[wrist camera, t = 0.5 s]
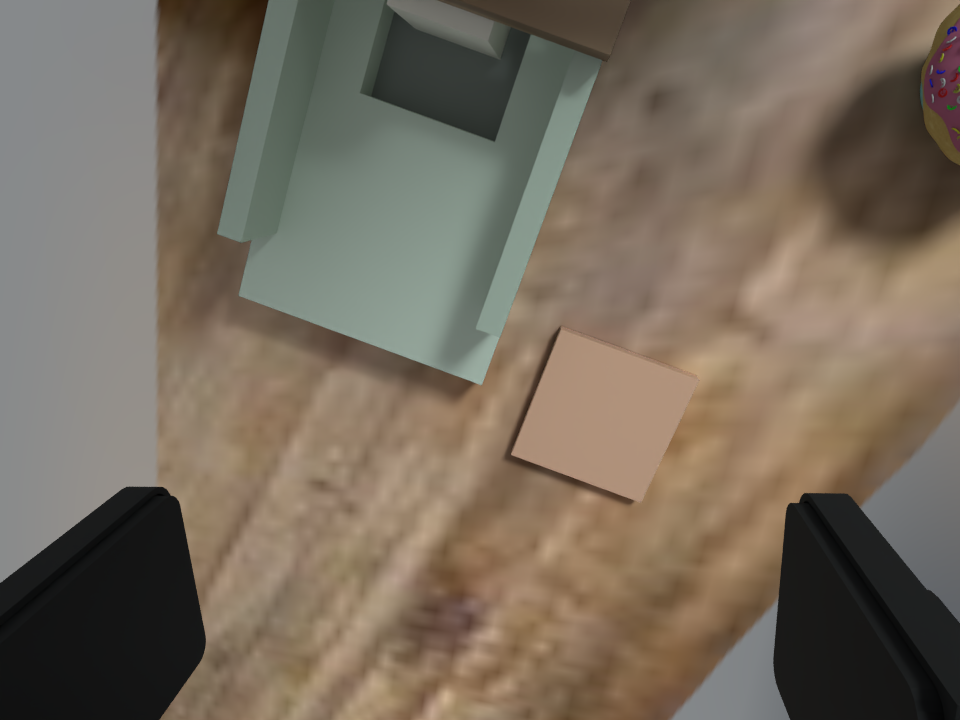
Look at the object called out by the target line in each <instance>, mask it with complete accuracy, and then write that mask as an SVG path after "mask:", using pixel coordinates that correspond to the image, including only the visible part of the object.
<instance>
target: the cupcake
mask: <svg viewBox="0 0 960 720" xmlns="http://www.w3.org/2000/svg"><path fill="white" fill-rule="evenodd" d="M920 100H921V106H922V109H923V113H924V122H925V126H926V129H927V131H928V132H929V134H930V135H931V136H932V138H933V139H934V140H935V141H936V143H937V144H938V146H939V148H940V149H941V150H942V152H943V153H944V154H945V156H946V157H947V158H948V159H950V160H951V161H953V162H954V163H956V164H958V165H960V4H959V5H958V7H957V8H956V9H955V10H954V11H952V12H951V13H950V14H949V15H948V16H947V17H946V18H945V19H944V21H943V22H942V23H941V25H940V26H939V28H938V30H937V32H936V35H935V38H934V41H933V45H932V48H931V50H930V53H929V55H928V57H927V60H926V61H925V63H924V66H923V68H922V72H921V87H920Z"/></svg>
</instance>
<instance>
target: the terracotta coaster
mask: <svg viewBox="0 0 960 720" xmlns="http://www.w3.org/2000/svg"><path fill="white" fill-rule="evenodd" d="M698 382H699V379H698V377H697V376H696V375H694V374H691V373H688V372H685V371H683V370H680V369H677V368H675V367H672V366H669V365H666V364H664V363H661V362H658V361H655V360H653V359H650V358H647V357H645V356H642V355H639V354H636V353H634V352H631V351H628V350H625V349H623V348H620V347H617V346H615V345H612V344H609V343H606V342H604V341H601V340H598V339H595V338H593V337H590V336H587V335H585V334H582V333H579V332H576V331H574V330H571V329H568V328H565V327H563V326H561V327H560V330H559V332H558V335H557V337H556V340H555V342H554V345H553V347H552V350H551V352H550V355H549V357H548V360H547V362H546V365H545V367H544V370H543V372H542V375H541V377H540V380H539V382H538V385H537V387H536V390H535V393H534V395H533V398H532V400H531V403H530V405H529V408H528V410H527V413H526V415H525V418H524V420H523V423H522V425H521V428H520V430H519V433H518V435H517V438H516V440H515V443H514V445H513V448H512V452H511V455H513V456H515V457H518V458H521V459H524V460H526V461H529V462H532V463H534V464H537V465H540V466H543V467H545V468H548V469H551V470H553V471H556V472H559V473H562V474H564V475H567V476H570V477H572V478H575V479H578V480H581V481H583V482H586V483H589V484H591V485H594V486H597V487H600V488H602V489H605V490H608V491H610V492H613V493H616V494H619V495H621V496H624V497H627V498H629V499H632V500H635V501H638V502H640V503H641V502H642V500H643V497H644V495H645V493H646V491H647V489H648V487H649V485H650V483H651V481H652V479H653V477H654V474H655V472H656V470H657V468H658V466H659V464H660V462H661V460H662V458H663V456H664V453H665V451H666V449H667V447H668V445H669V443H670V441H671V439H672V437H673V435H674V432H675V430H676V428H677V426H678V424H679V422H680V420H681V418H682V416H683V414H684V411H685V409H686V407H687V405H688V403H689V401H690V399H691V397H692V395H693V393H694V391H695V388H696V386H697V384H698Z"/></svg>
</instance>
